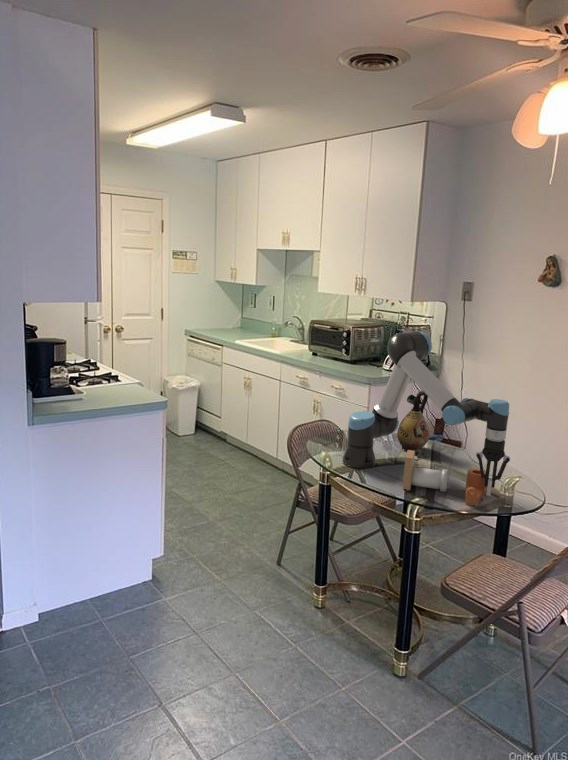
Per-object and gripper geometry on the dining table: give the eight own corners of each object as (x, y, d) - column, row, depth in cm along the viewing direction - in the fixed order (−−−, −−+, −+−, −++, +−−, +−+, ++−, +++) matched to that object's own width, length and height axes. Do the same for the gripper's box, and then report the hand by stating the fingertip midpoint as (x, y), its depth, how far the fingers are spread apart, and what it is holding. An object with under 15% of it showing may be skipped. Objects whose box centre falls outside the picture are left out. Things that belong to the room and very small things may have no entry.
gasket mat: (446, 495, 233) (446, 494, 233) (447, 487, 241) (447, 487, 241) (482, 500, 229) (482, 499, 229) (482, 493, 237) (482, 492, 237)
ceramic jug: (411, 456, 277) (416, 396, 271) (389, 447, 290) (394, 389, 284) (436, 451, 286) (442, 392, 280) (414, 442, 299) (419, 386, 292)
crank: (467, 467, 242) (487, 470, 240) (465, 485, 244) (485, 488, 242) (467, 484, 223) (489, 488, 221) (465, 503, 225) (486, 507, 223)
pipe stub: (402, 489, 237) (405, 457, 234) (405, 480, 247) (407, 449, 244) (445, 496, 233) (449, 463, 230) (446, 486, 242) (449, 455, 239)
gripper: (478, 439, 226) (471, 495, 231) (513, 443, 222) (506, 500, 227) (477, 433, 233) (471, 488, 238) (512, 438, 229) (504, 493, 234)
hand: (488, 494), depth 232 cm, fingers closed
